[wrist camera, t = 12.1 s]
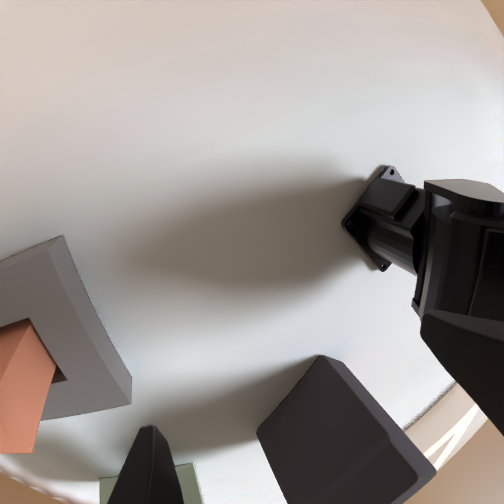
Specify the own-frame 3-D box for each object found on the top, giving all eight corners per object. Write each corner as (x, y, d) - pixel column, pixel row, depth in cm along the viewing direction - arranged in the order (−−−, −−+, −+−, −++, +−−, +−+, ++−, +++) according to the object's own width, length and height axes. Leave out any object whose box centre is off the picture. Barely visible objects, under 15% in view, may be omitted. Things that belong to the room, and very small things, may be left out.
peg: (40, 307, 17) (-11, 406, 8) (62, 347, 19) (32, 452, 10) (6, 319, 17) (-47, 410, 8) (29, 357, 18) (-7, 453, 9)
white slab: (467, 367, 40) (490, 386, 34) (464, 416, 51) (479, 431, 45) (331, 480, 39) (347, 506, 33) (366, 496, 50) (378, 514, 44)
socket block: (62, 234, 17) (47, 249, 14) (131, 377, 21) (131, 403, 18) (-49, 284, 14) (-67, 301, 12) (22, 400, 19) (14, 423, 16)
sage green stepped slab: (156, 415, 23) (169, 510, 14) (195, 465, 27) (215, 539, 18) (52, 434, 21) (41, 515, 12) (103, 481, 25) (106, 550, 16)
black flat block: (281, 435, 29) (341, 546, 15) (249, 430, 27) (306, 556, 13) (346, 361, 27) (443, 470, 14) (316, 350, 26) (420, 478, 12)
